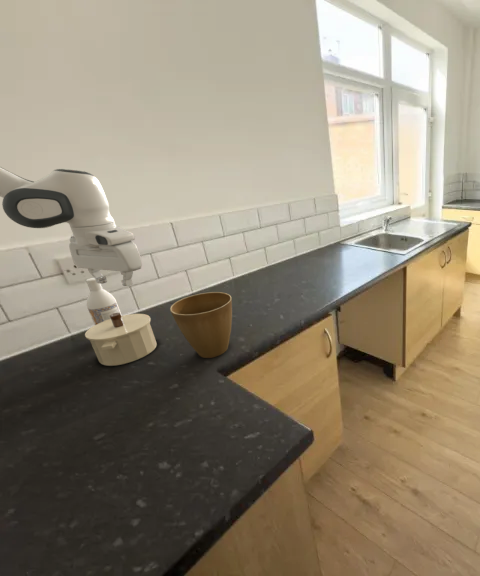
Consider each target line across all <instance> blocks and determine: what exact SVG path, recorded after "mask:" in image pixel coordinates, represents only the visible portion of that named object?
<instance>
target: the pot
mask: <svg viewBox="0 0 480 576" xmlns="http://www.w3.org/2000/svg"><path fill="white" fill-rule="evenodd" d="M89 342H90V344H91V347H92V349H93V351H94V353H95V356H96V358H97V361H98V362H99V363H100V364H101V365H103V366H107V367H113V366H120V365H125V364H128V363H133V362H135V361H137V360H139V359H142V358H144V357H146V356H147V355H150V353H152V352H153V351H154V350H155V349H156V348H157V346H158V344H157V341H156V337H155V334H154V331H153V329H152V326H151V322H150V323H149V324H148V325H147V326H146V327H144V328H142V329H141V330H139V331H137V332H134V333H132V334H129V335H127V336H123V337H120V338H116V339H111V340H105V341H91V340H89Z"/></svg>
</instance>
